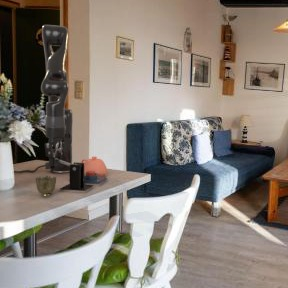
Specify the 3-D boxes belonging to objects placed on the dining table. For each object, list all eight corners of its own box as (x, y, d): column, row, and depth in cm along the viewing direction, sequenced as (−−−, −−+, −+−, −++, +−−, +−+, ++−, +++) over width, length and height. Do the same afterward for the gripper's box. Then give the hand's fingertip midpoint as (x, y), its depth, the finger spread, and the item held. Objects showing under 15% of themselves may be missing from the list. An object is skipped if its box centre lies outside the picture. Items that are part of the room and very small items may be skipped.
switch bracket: (59, 191, 162) (59, 164, 160) (68, 186, 171) (69, 161, 169) (85, 192, 162) (85, 166, 161) (93, 187, 171) (93, 162, 170)
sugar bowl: (97, 180, 185) (97, 159, 184) (72, 177, 188) (72, 157, 186) (111, 175, 197) (111, 156, 196) (87, 172, 200) (88, 153, 198)
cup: (60, 195, 156) (60, 176, 155) (47, 200, 149) (47, 180, 148) (45, 193, 158) (45, 174, 157) (31, 197, 151) (31, 178, 150)
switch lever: (50, 162, 162) (51, 157, 162) (55, 160, 167) (57, 155, 167) (76, 172, 163) (78, 167, 163) (81, 170, 168) (83, 165, 168)
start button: (84, 175, 177) (84, 172, 177) (88, 174, 181) (88, 170, 181) (93, 176, 177) (93, 172, 177) (96, 174, 181) (96, 171, 181)
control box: (73, 184, 174) (73, 176, 174) (82, 179, 184) (82, 171, 184) (99, 185, 175) (99, 177, 174) (106, 180, 185) (106, 173, 184)
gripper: (54, 124, 169) (54, 160, 172) (37, 127, 155) (38, 167, 158) (71, 125, 170) (71, 161, 172) (56, 128, 155) (56, 168, 158)
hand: (55, 164), depth 165 cm, fingers closed on switch lever, 5 cm apart
